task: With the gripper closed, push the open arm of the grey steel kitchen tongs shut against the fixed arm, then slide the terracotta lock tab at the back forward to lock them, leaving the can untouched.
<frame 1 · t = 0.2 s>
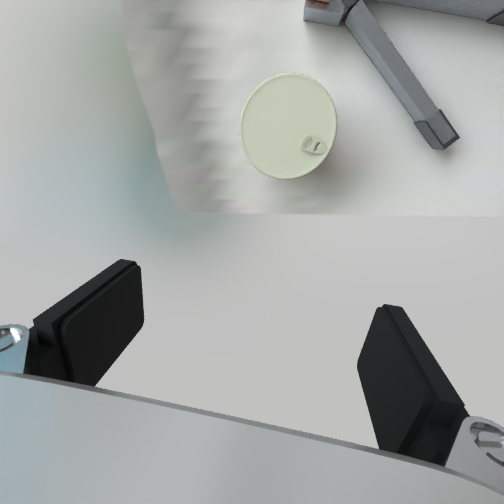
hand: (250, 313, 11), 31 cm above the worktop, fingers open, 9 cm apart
can: (289, 131, 36), on the worktop
tongs fixed: (343, 10, 30), on the worktop
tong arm: (401, 81, 30), point 2 cm above the worktop, hinge at -35.0°
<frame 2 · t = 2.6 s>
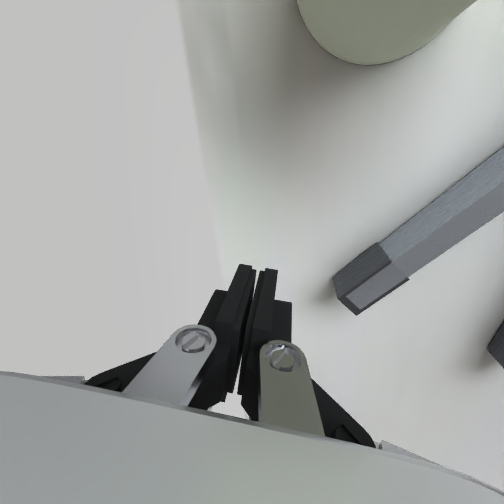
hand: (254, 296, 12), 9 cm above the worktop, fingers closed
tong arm: (466, 204, 15), point 2 cm above the worktop, hinge at -35.0°
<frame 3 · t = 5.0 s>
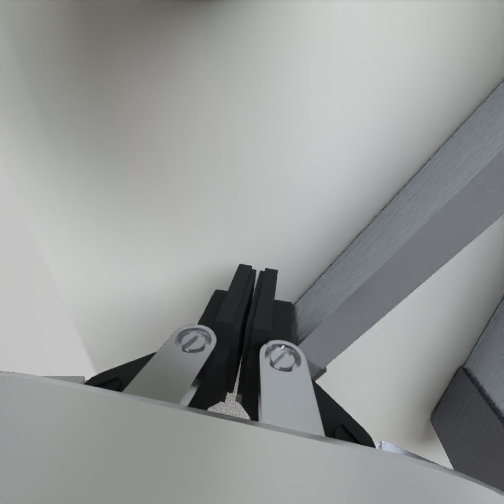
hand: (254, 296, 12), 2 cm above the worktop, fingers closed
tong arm: (393, 249, 10), point 2 cm above the worktop, hinge at -27.3°, touching gripper
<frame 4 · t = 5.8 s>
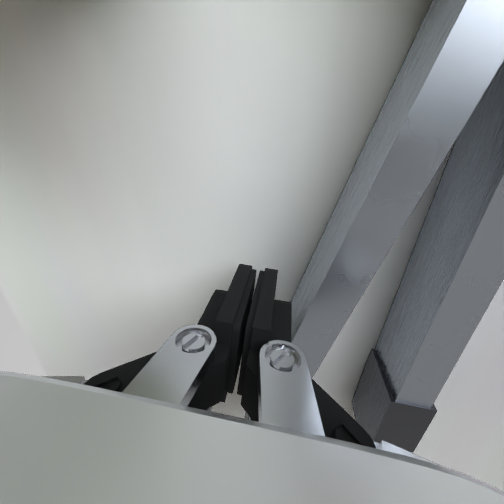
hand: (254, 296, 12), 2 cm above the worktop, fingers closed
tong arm: (339, 262, 10), point 2 cm above the worktop, hinge at -11.7°, touching gripper
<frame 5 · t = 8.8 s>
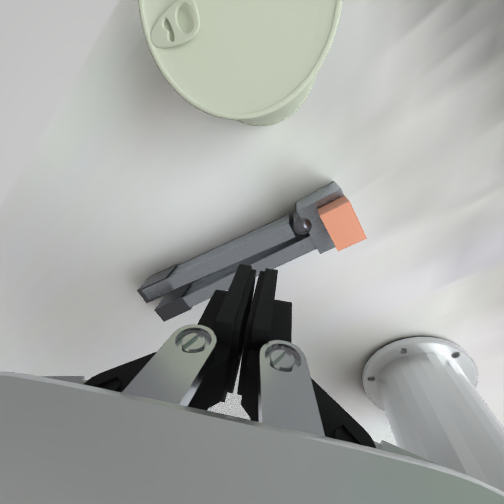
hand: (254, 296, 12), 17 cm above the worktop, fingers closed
can: (261, 64, 22), on the worktop
lock tab: (341, 223, 22), point 5 cm above the worktop, slide at 0.0 cm
tongs fixed: (301, 215, 27), on the worktop
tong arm: (213, 260, 28), point 2 cm above the worktop, hinge at -3.0°
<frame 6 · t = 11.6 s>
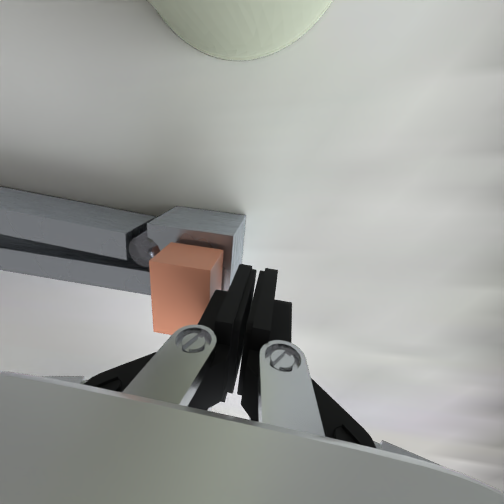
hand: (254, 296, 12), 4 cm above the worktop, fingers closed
lock tab: (188, 290, 12), point 5 cm above the worktop, slide at 0.3 cm, touching gripper
tongs fixed: (174, 229, 16), on the worktop
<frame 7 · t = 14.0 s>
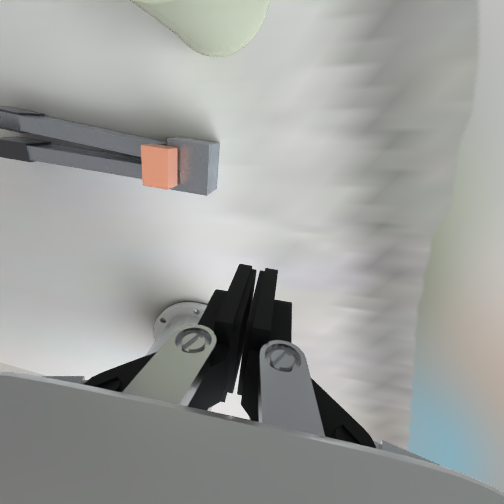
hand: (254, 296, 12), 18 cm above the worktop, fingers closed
lock tab: (160, 166, 24), point 5 cm above the worktop, slide at 2.9 cm
tongs fixed: (179, 151, 28), on the worktop
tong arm: (78, 132, 27), point 2 cm above the worktop, hinge at -3.0°
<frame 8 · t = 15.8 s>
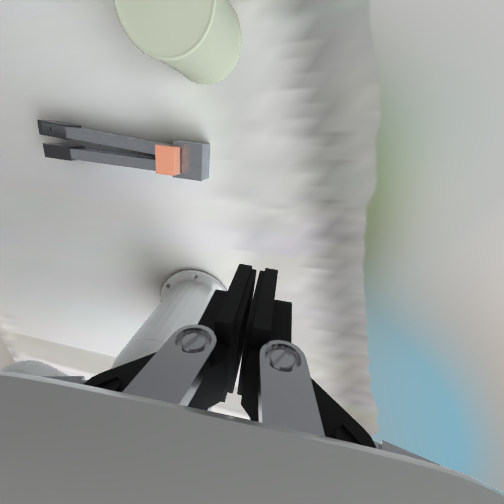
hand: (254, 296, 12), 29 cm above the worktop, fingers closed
can: (205, 41, 33), on the worktop
lock tab: (168, 159, 34), point 5 cm above the worktop, slide at 2.9 cm
tongs fixed: (181, 151, 38), on the worktop
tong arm: (107, 138, 37), point 2 cm above the worktop, hinge at -3.0°
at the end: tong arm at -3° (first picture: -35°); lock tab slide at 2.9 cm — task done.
